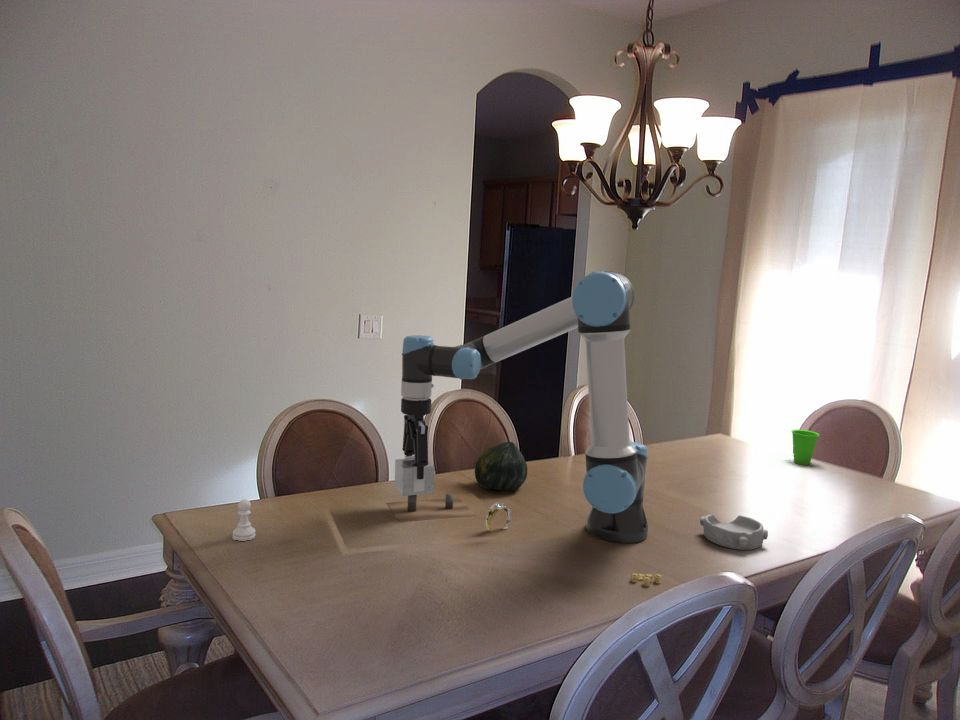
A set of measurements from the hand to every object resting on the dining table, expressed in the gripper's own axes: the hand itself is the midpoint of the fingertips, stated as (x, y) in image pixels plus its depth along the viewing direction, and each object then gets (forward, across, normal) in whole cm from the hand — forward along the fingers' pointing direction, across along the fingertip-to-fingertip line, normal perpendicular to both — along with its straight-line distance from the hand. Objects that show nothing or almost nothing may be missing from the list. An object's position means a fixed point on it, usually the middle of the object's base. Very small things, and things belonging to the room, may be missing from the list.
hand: (414, 485), depth 184 cm
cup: (+10, +21, -148) cm, 149 cm away
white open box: (+1, 0, 0) cm, 1 cm away
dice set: (+10, -48, -38) cm, 62 cm away
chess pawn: (+8, -6, +41) cm, 42 cm away
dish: (+9, -34, -73) cm, 81 cm away
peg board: (+8, 0, -5) cm, 9 cm away
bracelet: (+8, -17, -17) cm, 25 cm away
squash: (+8, +16, -31) cm, 36 cm away
